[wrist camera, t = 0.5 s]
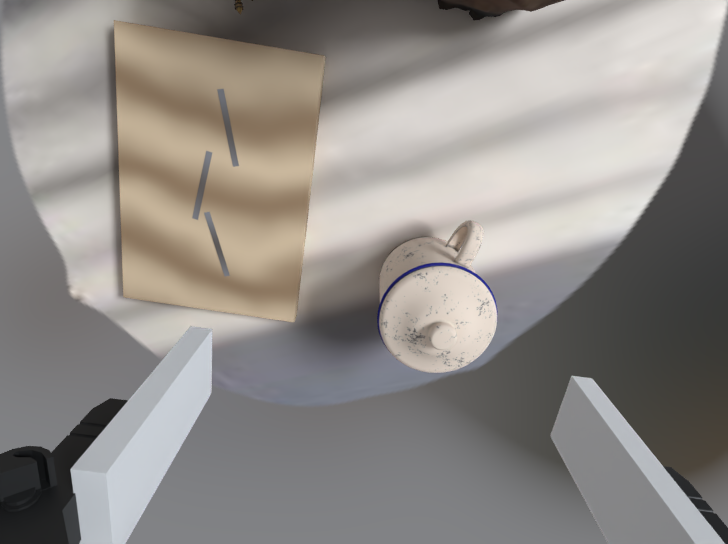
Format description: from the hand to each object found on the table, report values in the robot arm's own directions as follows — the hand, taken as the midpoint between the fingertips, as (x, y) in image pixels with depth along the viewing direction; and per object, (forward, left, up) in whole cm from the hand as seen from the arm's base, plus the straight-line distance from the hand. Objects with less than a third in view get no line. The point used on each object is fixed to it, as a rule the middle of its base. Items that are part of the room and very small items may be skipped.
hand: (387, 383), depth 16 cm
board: (-1, -14, -25) cm, 29 cm away
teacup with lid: (+3, +6, -25) cm, 26 cm away
